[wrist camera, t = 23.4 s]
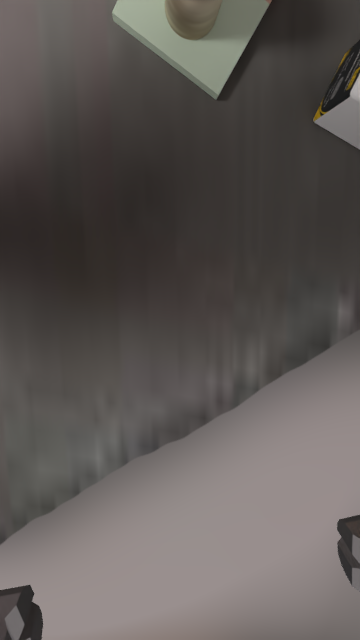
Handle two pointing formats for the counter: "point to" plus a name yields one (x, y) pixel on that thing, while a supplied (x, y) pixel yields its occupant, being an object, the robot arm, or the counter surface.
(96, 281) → the counter surface
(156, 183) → the counter surface
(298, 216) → the counter surface
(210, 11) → the beige cylinder
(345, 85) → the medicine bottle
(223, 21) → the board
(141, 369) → the counter surface
